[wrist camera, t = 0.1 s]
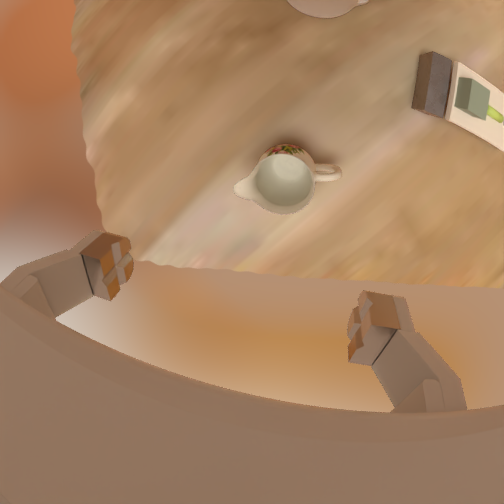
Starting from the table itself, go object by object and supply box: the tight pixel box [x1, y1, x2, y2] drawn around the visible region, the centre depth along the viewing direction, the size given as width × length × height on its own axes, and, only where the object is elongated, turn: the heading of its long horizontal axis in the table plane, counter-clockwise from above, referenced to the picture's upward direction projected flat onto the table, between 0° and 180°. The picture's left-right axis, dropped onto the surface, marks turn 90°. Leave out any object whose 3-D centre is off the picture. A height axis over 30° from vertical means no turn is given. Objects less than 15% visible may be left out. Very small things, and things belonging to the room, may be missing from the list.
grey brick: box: [412, 52, 452, 118], centre depth 33 cm, size 12×25×7 cm, turn 84°
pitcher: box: [233, 144, 342, 215], centre depth 48 cm, size 11×18×14 cm, turn 100°
